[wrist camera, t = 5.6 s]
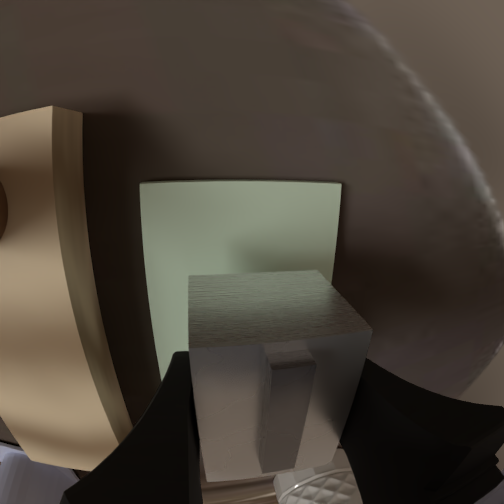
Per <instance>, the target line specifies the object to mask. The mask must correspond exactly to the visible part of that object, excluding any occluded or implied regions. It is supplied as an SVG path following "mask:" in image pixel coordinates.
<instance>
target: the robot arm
mask: <svg viewBox="0 0 504 504" xmlns="http://www.w3.org/2000/svg"><path fill="white" fill-rule="evenodd" d="M339 441H340V443H341V445H342V447H343V449H344V451H345V453H346V455H347V458H348V461H349V463H350V466H351V469H352V471H353V474H354V477H355V480H356V483H357V486H358V489H359V492H360V495H361V499H362V502H363V504H504V469H503V470H502V471H500V470H499V469H498V468H497V466H496V464H497V463H498V462H499V460H498V458H497V457H496V456H495V454H496V452H497V451H498V450H499V448H500V447H501V446H502V445H503V443H504V408H503V407H502V406H493V405H483V404H476V403H471V402H466V401H461V400H457V399H453V398H449V397H446V396H443V395H440V394H437V393H434V392H431V391H428V390H426V389H423V388H421V387H418V386H416V385H414V384H412V383H409V382H407V381H405V380H403V379H401V378H399V377H398V376H396V375H394V374H392V373H390V372H388V371H387V370H385V369H383V368H382V367H380V366H378V365H377V364H375V363H373V362H372V361H370V360H369V359H367V358H366V359H365V363H364V366H363V370H362V373H361V377H360V380H359V384H358V387H357V390H356V393H355V397H354V400H353V403H352V406H351V409H350V412H349V415H348V418H347V421H346V424H345V427H344V429H343V432H342V435H341V438H340V440H339ZM199 455H200V437H199V430H198V423H197V416H196V409H195V401H194V393H193V385H192V376H191V367H190V358H189V351H176V352H175V353H173V355H172V359H171V362H170V364H169V367H168V369H167V372H166V374H165V376H164V378H163V380H162V382H161V384H160V386H159V388H158V390H157V392H156V394H155V395H154V397H153V399H152V400H151V402H150V404H149V405H148V407H147V409H146V410H145V412H144V413H143V415H142V416H141V418H140V419H139V421H138V422H137V423H136V425H135V426H134V427H133V429H132V430H131V431H130V432H129V434H128V435H127V436H126V437H125V438H124V439H123V441H122V442H121V443H120V444H119V445H118V446H117V447H116V448H115V449H114V451H113V452H112V453H111V454H110V455H108V456H107V457H106V458H105V459H104V460H103V461H102V462H101V463H100V464H99V465H98V466H97V467H95V468H94V469H93V470H92V471H91V472H90V473H88V474H87V475H86V476H84V477H83V478H82V479H80V480H79V478H78V477H77V476H76V474H75V473H74V472H73V470H72V469H71V468H65V467H60V466H55V465H50V464H45V463H40V462H36V461H31V460H30V458H29V457H28V456H27V454H26V453H25V452H24V450H23V449H22V448H21V447H17V446H13V445H9V444H6V443H2V442H0V461H1V465H0V504H203V500H202V492H201V484H200V470H199Z"/></svg>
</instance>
